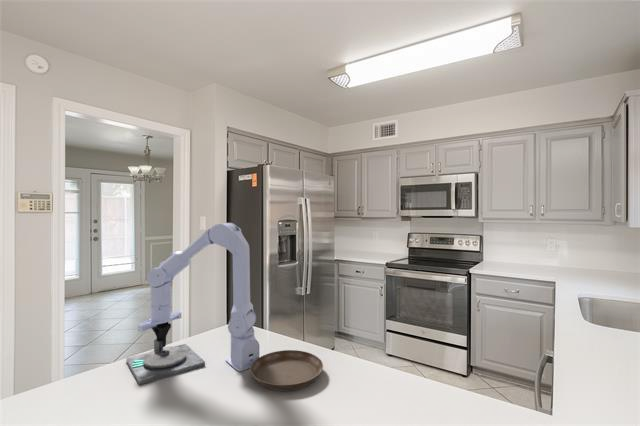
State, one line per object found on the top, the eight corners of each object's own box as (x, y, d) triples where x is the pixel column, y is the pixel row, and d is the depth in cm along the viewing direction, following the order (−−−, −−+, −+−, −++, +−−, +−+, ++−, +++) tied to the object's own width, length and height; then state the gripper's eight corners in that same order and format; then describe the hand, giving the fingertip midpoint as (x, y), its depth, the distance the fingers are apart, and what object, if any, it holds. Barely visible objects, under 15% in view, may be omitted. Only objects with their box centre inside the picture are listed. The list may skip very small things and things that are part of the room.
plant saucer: (314, 400, 84) (314, 387, 84) (238, 391, 88) (238, 378, 88) (328, 363, 104) (328, 353, 104) (266, 357, 108) (266, 347, 108)
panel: (204, 365, 102) (205, 360, 102) (139, 385, 90) (139, 379, 90) (185, 347, 116) (185, 342, 116) (126, 362, 104) (126, 357, 104)
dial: (194, 357, 104) (194, 341, 104) (156, 372, 95) (156, 354, 95) (172, 348, 111) (172, 333, 111) (135, 361, 102) (135, 344, 102)
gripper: (171, 297, 115) (171, 336, 115) (131, 308, 102) (131, 353, 102) (185, 300, 112) (186, 340, 112) (146, 312, 99) (146, 357, 99)
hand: (161, 346), depth 107 cm, fingers closed, pressing on dial
